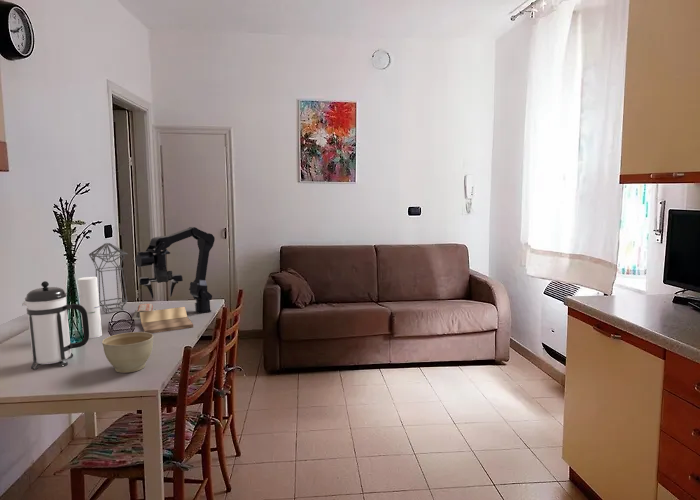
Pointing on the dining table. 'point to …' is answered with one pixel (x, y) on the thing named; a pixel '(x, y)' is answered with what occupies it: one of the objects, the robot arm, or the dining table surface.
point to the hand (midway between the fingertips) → (161, 297)
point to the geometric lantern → (109, 270)
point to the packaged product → (142, 310)
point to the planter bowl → (128, 350)
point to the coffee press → (51, 325)
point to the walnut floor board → (167, 325)
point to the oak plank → (163, 315)
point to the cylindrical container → (91, 304)
